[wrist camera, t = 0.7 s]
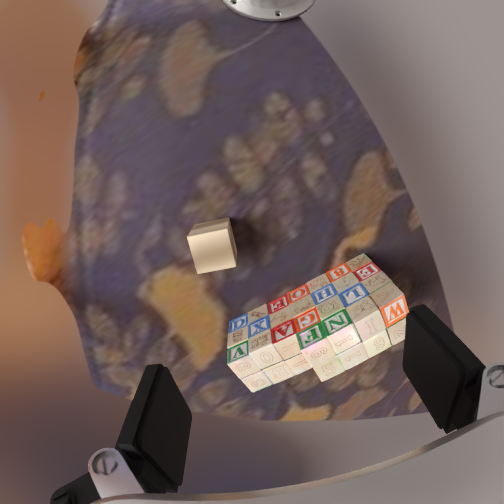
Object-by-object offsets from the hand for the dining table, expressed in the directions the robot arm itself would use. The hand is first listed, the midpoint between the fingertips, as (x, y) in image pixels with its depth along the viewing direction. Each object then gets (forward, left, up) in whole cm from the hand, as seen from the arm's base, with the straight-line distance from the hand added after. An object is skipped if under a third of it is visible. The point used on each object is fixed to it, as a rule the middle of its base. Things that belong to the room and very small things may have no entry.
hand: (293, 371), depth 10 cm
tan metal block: (+3, -6, -28) cm, 28 cm away
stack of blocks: (+15, +4, -28) cm, 32 cm away
